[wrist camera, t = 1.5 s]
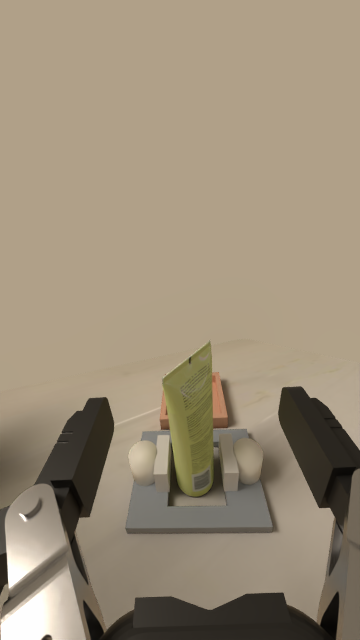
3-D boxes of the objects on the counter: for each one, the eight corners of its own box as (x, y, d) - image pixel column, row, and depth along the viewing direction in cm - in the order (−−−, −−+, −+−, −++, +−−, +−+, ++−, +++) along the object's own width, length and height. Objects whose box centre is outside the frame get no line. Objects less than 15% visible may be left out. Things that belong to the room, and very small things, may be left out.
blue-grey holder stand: (124, 533, 26) (116, 510, 24) (141, 436, 37) (137, 414, 35) (274, 532, 26) (280, 508, 23) (247, 434, 36) (250, 411, 34)
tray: (161, 429, 38) (159, 419, 37) (165, 383, 47) (164, 374, 46) (227, 427, 37) (227, 417, 36) (218, 381, 47) (218, 372, 46)
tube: (175, 455, 34) (163, 342, 25) (210, 453, 34) (210, 338, 25) (176, 500, 29) (161, 378, 20) (217, 497, 29) (220, 374, 20)
